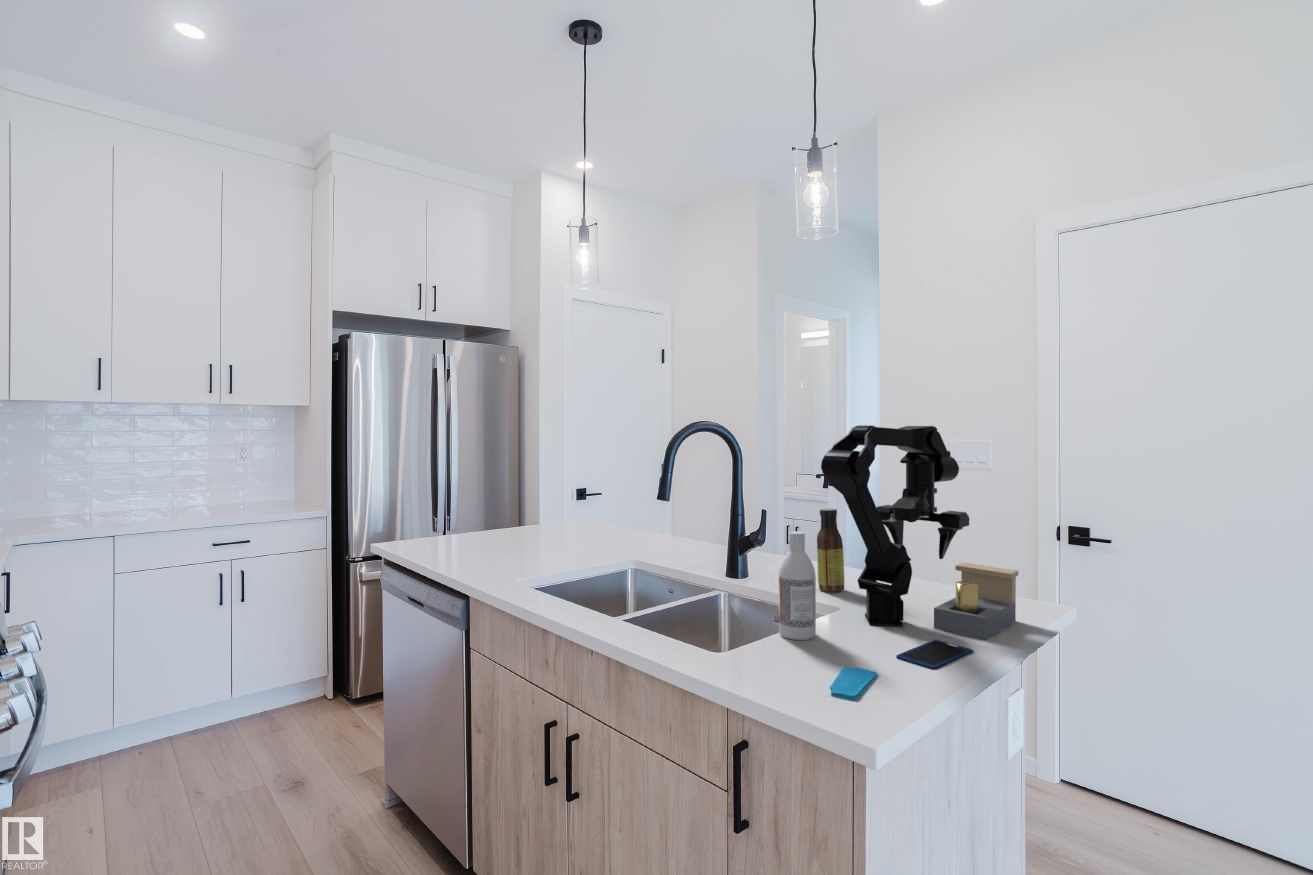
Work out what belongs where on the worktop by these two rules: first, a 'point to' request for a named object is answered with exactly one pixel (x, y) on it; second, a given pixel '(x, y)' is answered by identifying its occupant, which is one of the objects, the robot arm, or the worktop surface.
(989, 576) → the socket block
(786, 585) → the bath foam
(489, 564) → the worktop surface
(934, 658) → the cell phone
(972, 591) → the peg
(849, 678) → the sponge
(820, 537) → the sauce bottle
